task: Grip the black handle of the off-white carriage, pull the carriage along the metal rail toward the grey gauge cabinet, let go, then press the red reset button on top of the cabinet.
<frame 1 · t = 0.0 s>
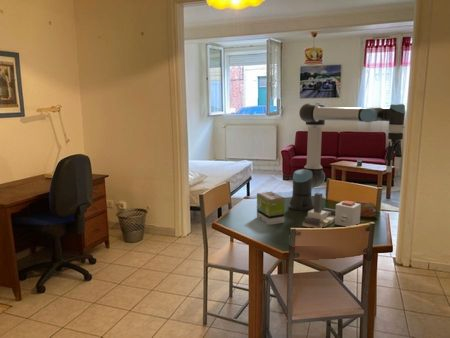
hand: (392, 170, 218), 28 cm above the table, tool pointing down, fingers open, 13 cm apart
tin: (362, 216, 227), on the table
reset button: (348, 204, 211), point 11 cm above the table, slide at 0.0 cm
rail board: (321, 222, 215), on the table
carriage: (317, 207, 210), point 10 cm above the table, slide at -5.0 cm
tea box: (270, 220, 219), on the table
gauge cabinet: (347, 223, 213), on the table
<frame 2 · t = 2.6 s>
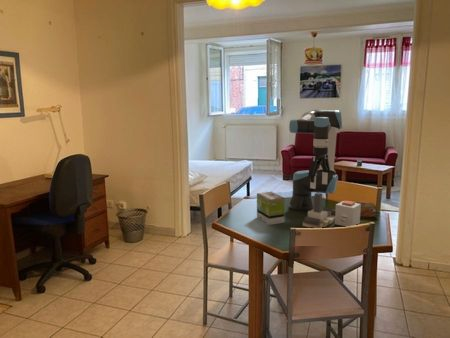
hand: (318, 186, 207), 21 cm above the table, tool pointing down, fingers open, 13 cm apart
nothing on the table moved.
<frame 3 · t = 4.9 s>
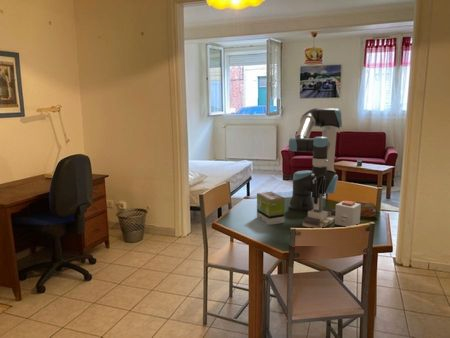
hand: (317, 208, 210), 9 cm above the table, tool pointing down, fingers closed on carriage, 3 cm apart
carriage: (317, 207, 210), point 10 cm above the table, slide at -5.0 cm, touching gripper
everything else where it was.
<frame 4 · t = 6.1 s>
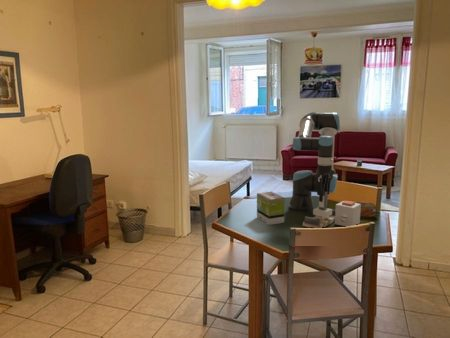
hand: (322, 206, 214), 9 cm above the table, tool pointing down, fingers closed on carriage, 3 cm apart
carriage: (322, 204, 214), point 10 cm above the table, slide at 1.1 cm, touching gripper
everything else where it was.
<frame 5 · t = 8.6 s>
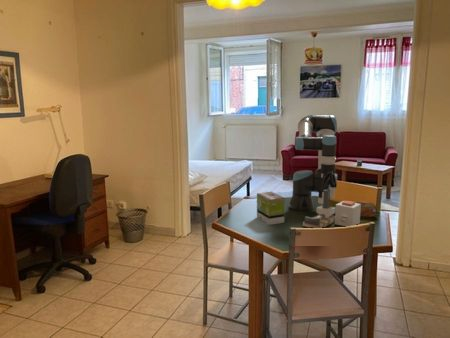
hand: (326, 200, 217), 11 cm above the table, tool pointing down, fingers open, 13 cm apart
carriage: (326, 203, 217), point 10 cm above the table, slide at 5.0 cm
everything else where it was.
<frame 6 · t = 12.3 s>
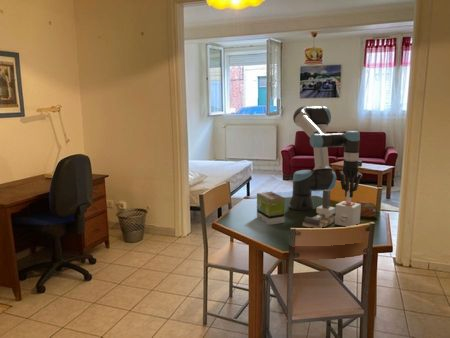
hand: (348, 202, 211), 12 cm above the table, tool pointing down, fingers closed
reset button: (348, 206, 211), point 10 cm above the table, slide at 0.7 cm, touching gripper
everything else where it was.
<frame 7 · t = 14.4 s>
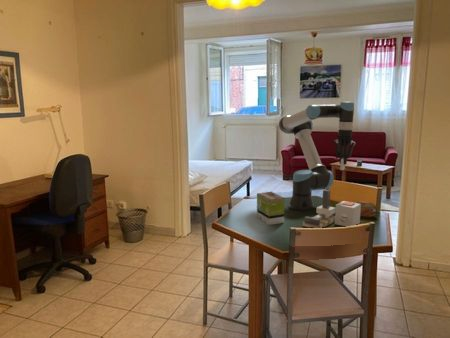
hand: (342, 169, 225), 27 cm above the table, tool pointing down, fingers closed
reset button: (348, 206, 211), point 10 cm above the table, slide at 0.7 cm
everything else where it was.
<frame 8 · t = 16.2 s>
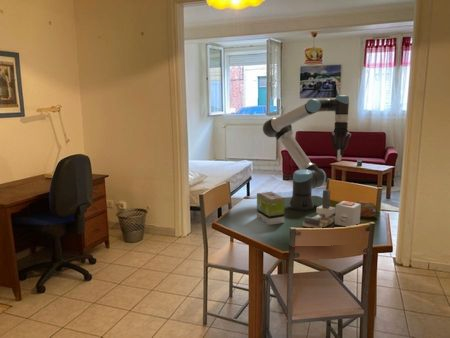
hand: (339, 160, 236), 30 cm above the table, tool pointing down, fingers closed
nothing on the table moved.
at the end: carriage slide at 5.0 cm; reset button slide at 0.7 cm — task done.
